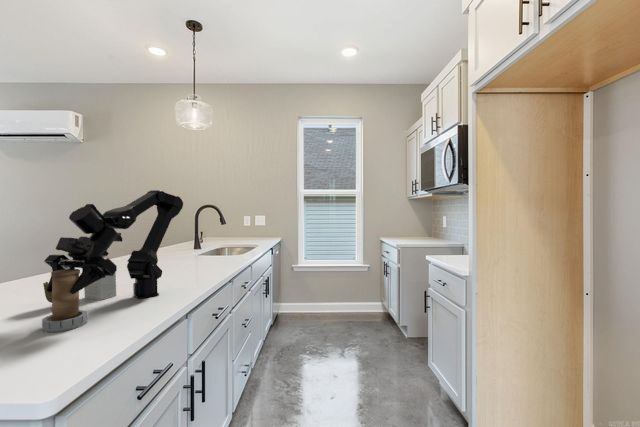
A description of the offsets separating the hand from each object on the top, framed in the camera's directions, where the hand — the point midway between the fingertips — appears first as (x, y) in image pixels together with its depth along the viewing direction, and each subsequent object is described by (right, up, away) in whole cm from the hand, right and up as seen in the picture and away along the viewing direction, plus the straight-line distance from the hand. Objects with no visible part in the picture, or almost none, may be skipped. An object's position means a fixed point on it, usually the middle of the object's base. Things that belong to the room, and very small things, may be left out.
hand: (59, 292), depth 80 cm
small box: (-9, -9, +27) cm, 30 cm away
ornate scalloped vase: (-14, -9, +17) cm, 24 cm away
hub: (0, -9, +2) cm, 9 cm away
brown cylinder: (0, -8, +2) cm, 8 cm away
